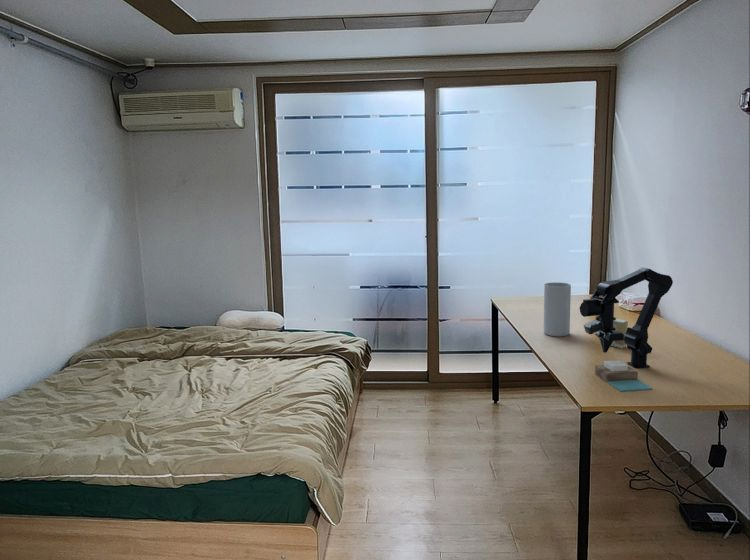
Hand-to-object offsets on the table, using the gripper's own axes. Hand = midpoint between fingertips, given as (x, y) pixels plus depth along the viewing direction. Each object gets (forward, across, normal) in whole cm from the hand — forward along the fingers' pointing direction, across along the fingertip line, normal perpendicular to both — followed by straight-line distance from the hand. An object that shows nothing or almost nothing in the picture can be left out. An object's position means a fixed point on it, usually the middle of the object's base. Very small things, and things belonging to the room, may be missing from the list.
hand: (604, 352), depth 237 cm
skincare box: (+8, -30, +22) cm, 38 cm away
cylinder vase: (+8, -58, +4) cm, 58 cm away
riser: (+7, +10, 0) cm, 12 cm away
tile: (+4, +9, 0) cm, 10 cm away
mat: (+7, +20, 0) cm, 21 cm away
